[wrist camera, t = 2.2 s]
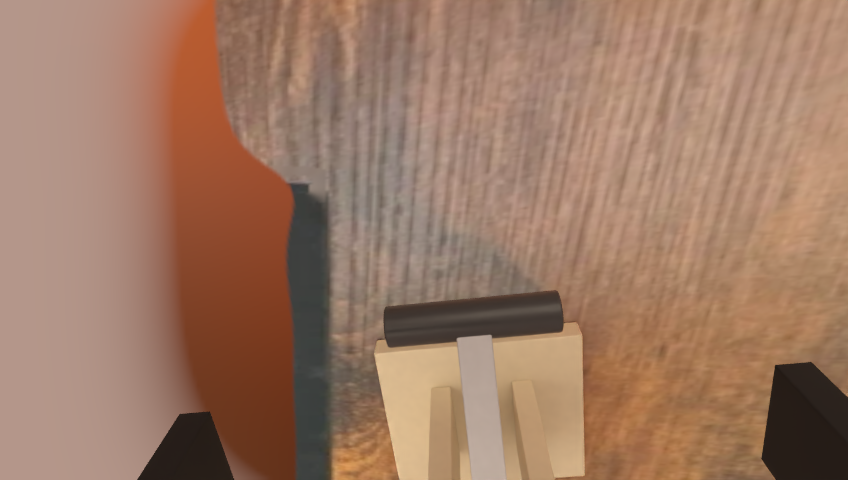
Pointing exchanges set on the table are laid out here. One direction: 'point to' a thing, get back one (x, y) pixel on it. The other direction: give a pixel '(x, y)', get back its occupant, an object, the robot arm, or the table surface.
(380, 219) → the table surface
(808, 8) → the table surface
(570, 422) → the bracket
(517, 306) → the lever
